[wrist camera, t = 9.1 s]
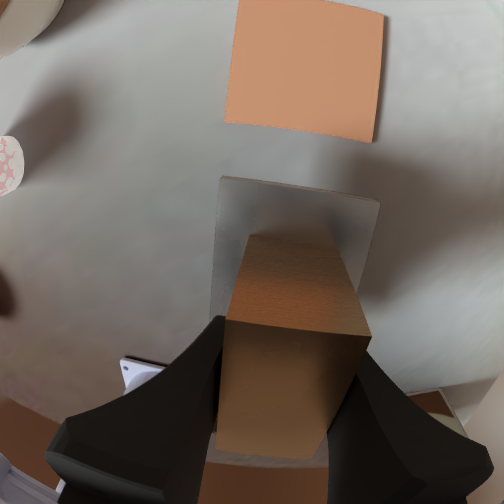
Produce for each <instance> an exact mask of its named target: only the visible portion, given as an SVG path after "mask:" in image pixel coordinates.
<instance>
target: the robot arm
mask: <svg viewBox="0 0 504 504" xmlns="http://www.w3.org/2000/svg"><path fill="white" fill-rule="evenodd" d="M225 319H226V316H222V315H216V316H215V317H214V318H213V319H212V321H211V322H210V323H209V324H208V326H207V327H206V328H205V329H204V331H203V332H202V333H201V334H200V335H199V336H198V337H197V338H196V339H195V341H194V342H193V343H192V344H191V345H190V346H189V347H188V348H187V349H186V350H185V351H184V352H183V353H182V354H180V355H179V356H178V357H177V358H176V359H175V360H174V361H173V362H172V363H170V364H169V365H168V366H167V367H163V366H158V365H154V364H149V363H145V362H141V361H137V360H133V359H129V358H122V359H121V360H120V365H121V369H122V373H123V377H124V381H125V385H126V390H125V392H124V394H123V396H121V397H119V398H117V399H115V400H113V401H111V402H109V403H107V404H104V405H102V406H100V407H98V408H95V409H92V410H89V411H87V412H84V413H81V414H78V415H75V416H71V417H68V418H66V419H65V421H64V422H63V423H62V425H61V426H60V427H59V429H58V430H57V432H56V433H55V435H54V437H53V439H52V440H51V442H50V444H49V446H48V447H47V449H46V451H45V453H44V455H45V458H46V461H47V462H48V464H49V465H50V466H51V467H52V469H53V470H54V471H55V472H56V473H57V474H58V475H59V476H60V477H61V480H60V482H59V484H58V486H57V488H56V491H54V490H53V489H51V488H49V487H47V486H45V485H43V484H42V483H40V482H38V481H36V480H35V479H33V478H31V477H29V476H28V475H26V474H25V473H23V472H22V471H20V470H18V469H17V468H15V467H14V466H12V465H11V464H10V462H9V461H8V460H7V459H6V458H5V457H4V456H3V455H2V454H1V453H0V504H198V497H199V491H200V486H201V481H202V475H203V470H204V465H205V460H206V455H207V449H208V444H209V440H210V436H211V432H212V429H213V426H214V423H215V420H216V416H217V413H218V407H219V393H220V380H221V367H222V354H223V342H224V330H225ZM327 438H328V449H329V480H328V500H327V504H467V500H466V496H468V495H469V494H470V493H471V492H473V491H474V490H475V489H476V488H478V487H479V486H480V485H482V484H483V483H484V482H485V481H486V480H487V479H488V478H489V477H490V476H491V474H492V472H493V470H494V466H493V464H492V461H491V458H490V456H489V453H488V451H487V448H486V447H485V446H483V445H481V444H479V443H477V442H475V441H473V440H470V439H468V438H466V437H464V436H462V435H460V434H459V433H457V432H455V431H454V430H452V429H450V428H449V427H447V426H445V425H444V424H442V423H441V422H439V421H438V420H436V419H435V418H434V417H432V416H431V415H430V414H428V413H427V412H426V411H424V410H423V409H422V408H420V407H419V406H418V405H417V404H416V403H414V402H413V401H412V400H411V399H410V398H409V397H408V396H407V395H406V394H404V393H403V392H402V391H401V390H400V389H399V388H398V387H397V386H396V385H395V383H394V382H393V381H392V380H391V379H390V378H389V377H388V376H387V375H386V374H385V373H384V371H383V370H382V369H381V368H380V367H379V366H378V364H377V363H376V362H375V361H374V360H373V358H372V357H371V356H370V355H369V353H368V352H367V351H366V352H365V354H364V357H363V359H362V361H361V363H360V366H359V368H358V370H357V372H356V374H355V377H354V379H353V381H352V383H351V385H350V387H349V389H348V391H347V393H346V395H345V397H344V399H343V401H342V403H341V405H340V407H339V409H338V411H337V413H336V415H335V417H334V419H333V421H332V423H331V424H330V426H329V428H328V430H327ZM500 504H504V500H503V501H502V502H501V503H500Z"/></svg>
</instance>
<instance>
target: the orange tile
mask: <svg viewBox="0 0 504 504" xmlns="http://www.w3.org/2000/svg"><path fill="white" fill-rule="evenodd" d="M383 18H384V15H383V14H380V13H376V12H373V11H369V10H365V9H361V8H357V7H353V6H348V5H344V4H339V3H334V2H329V1H323V0H239V4H238V12H237V19H236V26H235V34H234V41H233V49H232V57H231V66H230V74H229V83H228V92H227V101H226V111H225V121H224V122H229V123H241V124H252V125H261V126H270V127H278V128H286V129H293V130H300V131H307V132H313V133H320V134H325V135H331V136H337V137H342V138H347V139H352V140H357V141H362V142H367V143H372V137H373V130H374V122H375V115H376V107H377V98H378V89H379V79H380V68H381V55H382V40H383Z"/></svg>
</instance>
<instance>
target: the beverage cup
mask: <svg viewBox="0 0 504 504" xmlns="http://www.w3.org/2000/svg"><path fill="white" fill-rule="evenodd" d="M23 174H24V157H23V151H22V149H21V147H20V144H19V142H18V141H17V140H16V139H15V138H14V137H11V136H1V137H0V197H1V196H3V195H5V194H7V193H9V192H11V191H13V190H15V189H16V188H17V187H18V185H19V184H20V183H21V180H22V177H23Z"/></svg>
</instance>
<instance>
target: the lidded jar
mask: <svg viewBox="0 0 504 504" xmlns="http://www.w3.org/2000/svg"><path fill="white" fill-rule="evenodd" d="M63 3H64V0H0V59H2V58H4V57H6V56H9V55H11V54H13V53H14V52H16V51H18V50H19V49H21V48H22V47H24V46H25V45H26V44H28V43H29V42H30V41H31V40H33V39H34V38H35V37H37V36H38V35H39V34H41V33H42V32H43V31H44V30H45V29H46V28H47V27H48V26H49V25H50V24H51V23H52V21H53V20H54V19H55V17H56V16H57V14H58V13H59V11H60V9H61V7H62V5H63Z"/></svg>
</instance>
